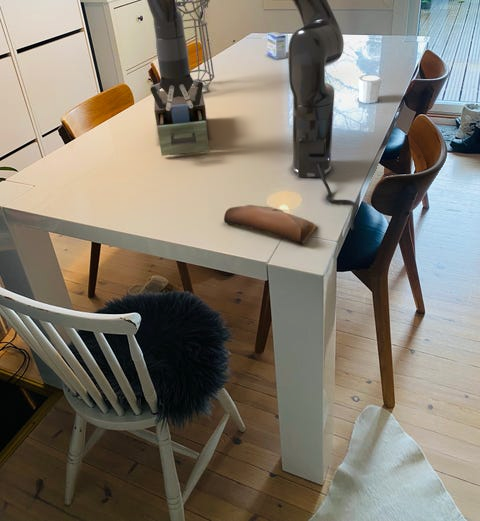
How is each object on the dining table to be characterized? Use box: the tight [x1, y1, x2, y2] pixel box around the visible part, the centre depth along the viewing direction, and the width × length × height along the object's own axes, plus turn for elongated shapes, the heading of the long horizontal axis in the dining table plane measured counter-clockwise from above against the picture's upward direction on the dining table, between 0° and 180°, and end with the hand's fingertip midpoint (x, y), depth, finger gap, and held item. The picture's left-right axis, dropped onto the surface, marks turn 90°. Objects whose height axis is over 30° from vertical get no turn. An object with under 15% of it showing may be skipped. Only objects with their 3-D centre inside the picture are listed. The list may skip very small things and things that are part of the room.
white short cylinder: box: [358, 74, 382, 104], centre depth 158 cm, size 7×7×7 cm
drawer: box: [156, 109, 210, 157], centre depth 136 cm, size 19×13×8 cm, turn 7°
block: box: [171, 104, 190, 124], centre depth 134 cm, size 4×4×4 cm
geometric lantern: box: [175, 0, 215, 94], centre depth 167 cm, size 16×16×35 cm
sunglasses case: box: [223, 204, 317, 245], centre depth 104 cm, size 18×7×7 cm
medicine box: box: [266, 31, 287, 60], centre depth 203 cm, size 8×4×9 cm, turn 25°
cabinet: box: [153, 87, 209, 138], centre depth 146 cm, size 16×14×10 cm
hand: (181, 121), depth 135 cm, fingers closed on block, 4 cm apart
